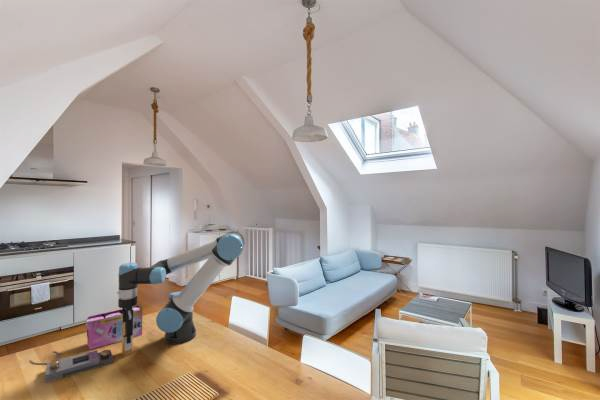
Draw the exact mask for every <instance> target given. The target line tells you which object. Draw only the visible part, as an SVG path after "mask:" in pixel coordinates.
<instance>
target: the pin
mask: <svg viewBox="0 0 600 400" xmlns="http://www.w3.org/2000/svg"><path fill="white" fill-rule="evenodd" d="M124 335H125V322H124V323H123V328H122V341H121V342H122V346H121V347H122V349H121V354H122V356H129V355H131V354H132V353H133V348H132V349H130V350H126V351H125V337H124Z"/></svg>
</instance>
